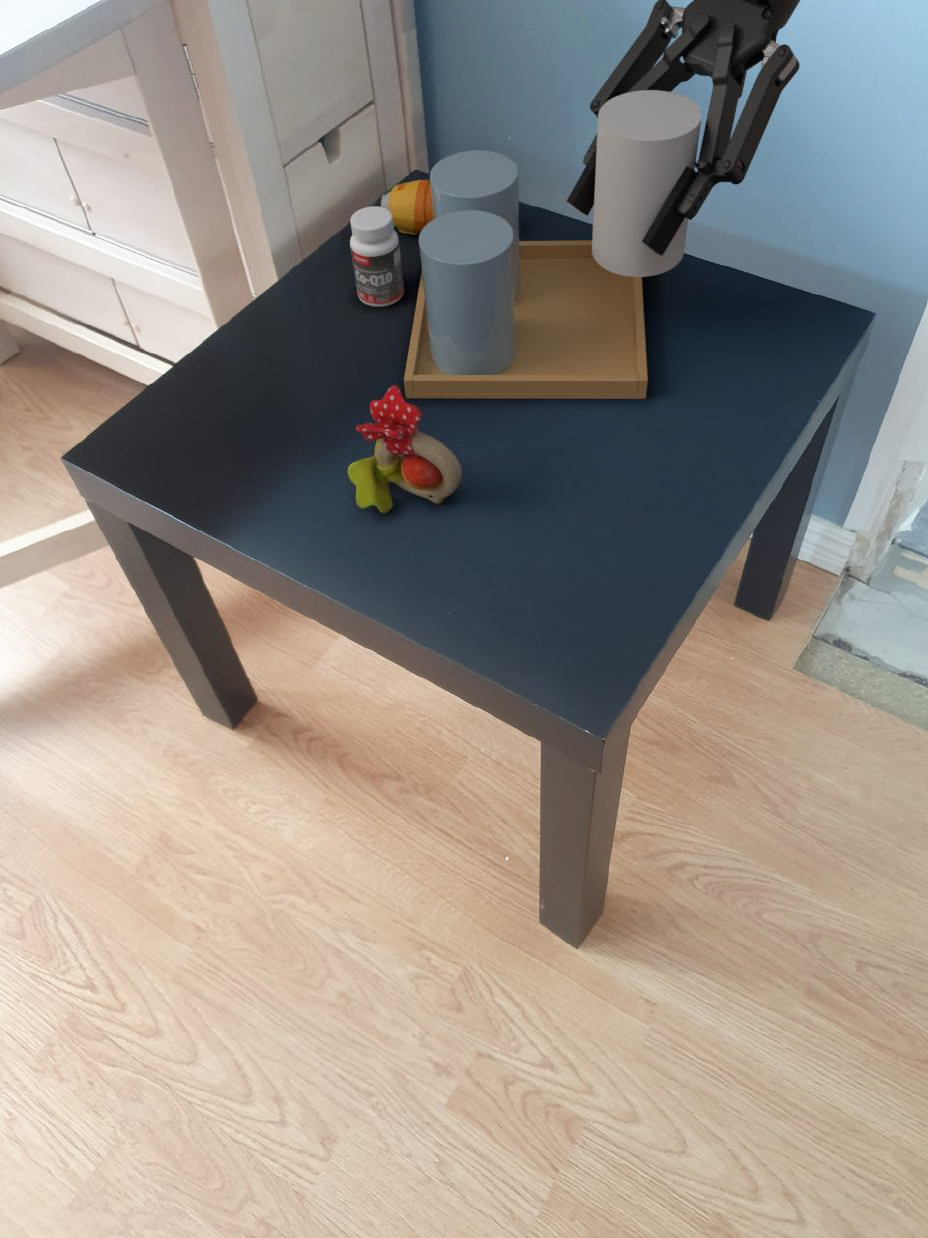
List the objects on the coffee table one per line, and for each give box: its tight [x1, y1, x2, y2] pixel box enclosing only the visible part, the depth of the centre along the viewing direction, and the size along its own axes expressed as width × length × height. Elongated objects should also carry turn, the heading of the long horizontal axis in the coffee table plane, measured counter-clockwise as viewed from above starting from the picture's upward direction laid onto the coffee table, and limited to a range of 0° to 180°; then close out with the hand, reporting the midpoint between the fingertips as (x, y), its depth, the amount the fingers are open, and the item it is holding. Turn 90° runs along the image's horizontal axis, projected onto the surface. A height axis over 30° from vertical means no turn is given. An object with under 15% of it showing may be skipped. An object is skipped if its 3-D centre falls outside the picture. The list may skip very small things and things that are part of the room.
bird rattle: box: [347, 384, 463, 514], centre depth 79 cm, size 6×11×9 cm
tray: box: [403, 239, 649, 400], centre depth 95 cm, size 22×22×2 cm
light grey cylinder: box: [591, 90, 703, 278], centre depth 84 cm, size 8×8×12 cm
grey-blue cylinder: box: [429, 149, 520, 298], centre depth 94 cm, size 8×8×12 cm
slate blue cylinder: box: [418, 210, 516, 375], centre depth 88 cm, size 8×8×12 cm
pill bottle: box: [349, 205, 405, 308], centre depth 97 cm, size 5×5×8 cm
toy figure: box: [380, 179, 434, 236], centre depth 104 cm, size 5×6×12 cm
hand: (613, 227), depth 85 cm, fingers closed on light grey cylinder, 8 cm apart
